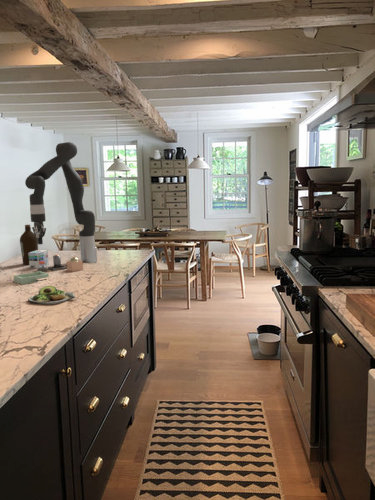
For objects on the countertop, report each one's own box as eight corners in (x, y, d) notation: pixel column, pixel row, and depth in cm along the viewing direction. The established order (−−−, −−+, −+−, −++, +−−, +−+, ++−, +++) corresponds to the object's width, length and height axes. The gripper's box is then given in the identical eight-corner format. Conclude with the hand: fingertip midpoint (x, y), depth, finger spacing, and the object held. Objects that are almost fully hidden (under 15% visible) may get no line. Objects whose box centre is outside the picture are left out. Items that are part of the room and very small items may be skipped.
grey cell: (59, 267, 225) (58, 254, 224) (62, 268, 223) (61, 254, 221) (52, 268, 223) (51, 254, 221) (55, 269, 220) (54, 255, 219)
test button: (43, 263, 218) (43, 260, 218) (46, 264, 216) (45, 261, 215) (37, 264, 216) (37, 261, 215) (40, 264, 214) (40, 262, 213)
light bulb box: (39, 271, 225) (38, 252, 223) (29, 270, 226) (27, 252, 224) (49, 267, 235) (48, 249, 233) (39, 267, 236) (38, 249, 235)
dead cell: (76, 270, 221) (75, 256, 220) (80, 271, 219) (79, 257, 217) (70, 271, 219) (69, 257, 217) (73, 272, 216) (72, 258, 214)
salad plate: (86, 296, 171) (86, 286, 170) (59, 308, 154) (58, 296, 153) (51, 292, 178) (51, 283, 177) (22, 303, 161) (21, 293, 161)
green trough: (40, 276, 210) (40, 271, 209) (48, 279, 203) (48, 273, 202) (14, 281, 200) (13, 275, 199) (22, 284, 193) (21, 278, 192)
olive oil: (39, 261, 256) (36, 223, 252) (40, 264, 246) (36, 225, 242) (21, 262, 252) (18, 224, 248) (21, 265, 242) (18, 225, 238)
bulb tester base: (61, 268, 230) (61, 263, 229) (70, 270, 223) (69, 265, 222) (31, 273, 217) (31, 268, 217) (39, 276, 210) (39, 270, 210)
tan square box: (77, 270, 223) (76, 259, 222) (83, 272, 219) (82, 260, 218) (67, 272, 219) (66, 260, 218) (72, 274, 214) (72, 262, 213)
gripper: (49, 212, 209) (52, 244, 212) (39, 212, 218) (41, 242, 221) (36, 213, 204) (38, 246, 207) (25, 213, 213) (28, 244, 216)
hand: (40, 244), depth 214 cm, fingers closed
